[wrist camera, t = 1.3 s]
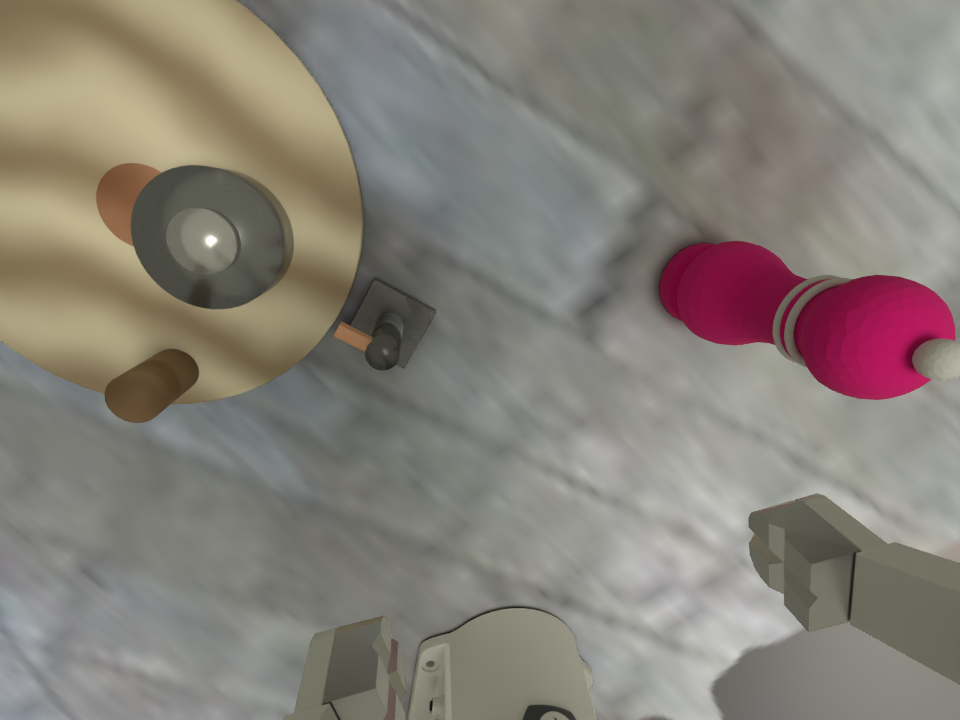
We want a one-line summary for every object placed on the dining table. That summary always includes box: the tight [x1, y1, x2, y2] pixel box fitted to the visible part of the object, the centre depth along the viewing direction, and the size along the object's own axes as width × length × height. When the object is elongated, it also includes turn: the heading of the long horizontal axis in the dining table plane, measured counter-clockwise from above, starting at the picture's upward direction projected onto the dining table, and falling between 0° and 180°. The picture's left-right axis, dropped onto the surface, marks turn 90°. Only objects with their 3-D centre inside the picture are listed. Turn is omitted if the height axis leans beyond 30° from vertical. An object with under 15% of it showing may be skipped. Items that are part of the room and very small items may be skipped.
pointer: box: [334, 278, 436, 370], centre depth 33 cm, size 6×5×8 cm
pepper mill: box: [660, 241, 960, 400], centre depth 29 cm, size 7×7×20 cm
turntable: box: [0, 0, 364, 423], centre depth 27 cm, size 26×26×6 cm
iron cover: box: [131, 165, 294, 309], centre depth 28 cm, size 8×8×4 cm
